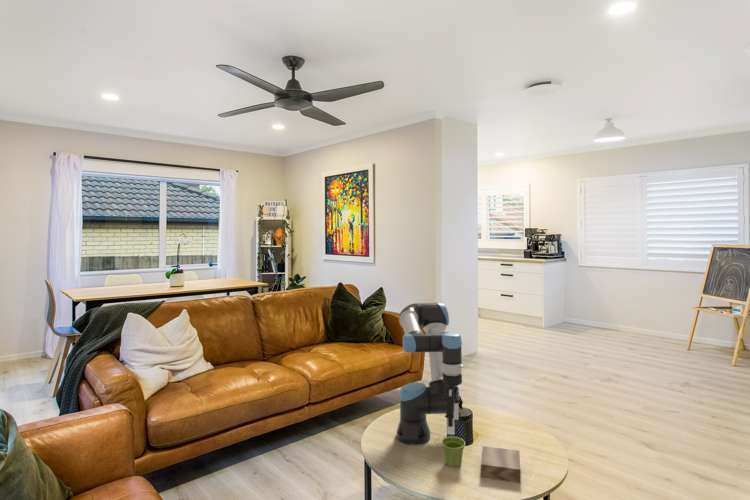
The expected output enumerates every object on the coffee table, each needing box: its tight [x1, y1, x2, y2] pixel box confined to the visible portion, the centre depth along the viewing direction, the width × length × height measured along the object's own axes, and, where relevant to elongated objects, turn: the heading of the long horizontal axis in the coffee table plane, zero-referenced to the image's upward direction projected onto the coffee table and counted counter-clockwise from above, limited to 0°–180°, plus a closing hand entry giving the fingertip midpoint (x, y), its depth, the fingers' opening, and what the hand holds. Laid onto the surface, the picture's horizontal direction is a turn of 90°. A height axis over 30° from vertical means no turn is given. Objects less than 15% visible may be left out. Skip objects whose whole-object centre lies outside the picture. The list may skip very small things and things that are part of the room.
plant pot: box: [441, 436, 466, 468], centre depth 168 cm, size 9×9×9 cm
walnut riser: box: [480, 445, 522, 484], centre depth 163 cm, size 14×14×5 cm
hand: (453, 426), depth 168 cm, fingers open, 13 cm apart
